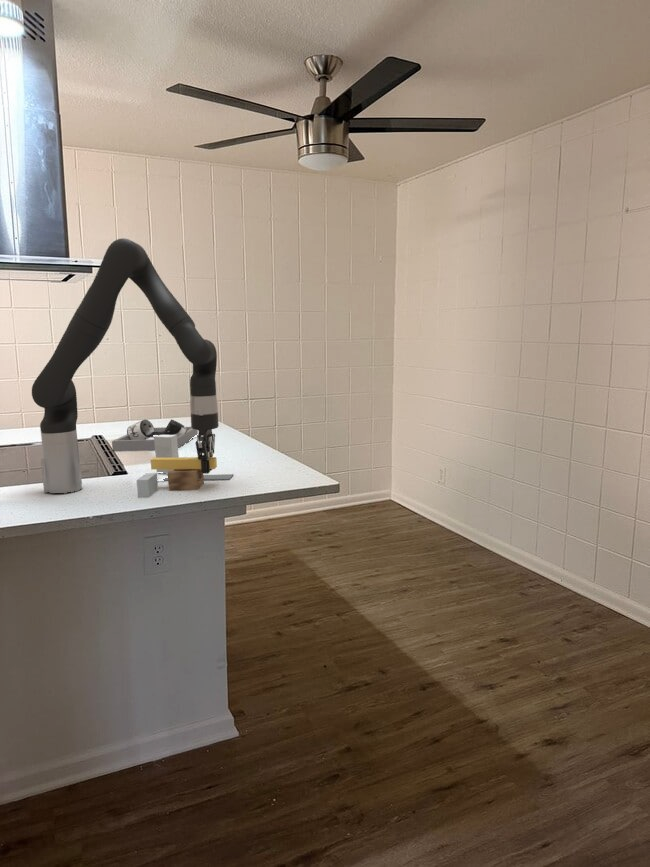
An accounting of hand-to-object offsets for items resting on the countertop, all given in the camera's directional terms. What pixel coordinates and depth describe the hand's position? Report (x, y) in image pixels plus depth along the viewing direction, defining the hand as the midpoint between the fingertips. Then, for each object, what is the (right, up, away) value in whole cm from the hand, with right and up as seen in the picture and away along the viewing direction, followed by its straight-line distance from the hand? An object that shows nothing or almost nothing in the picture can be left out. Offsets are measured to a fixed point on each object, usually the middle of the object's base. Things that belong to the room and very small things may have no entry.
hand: (207, 471), depth 169 cm
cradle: (-6, -4, +1) cm, 8 cm away
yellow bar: (-7, +1, 0) cm, 7 cm away
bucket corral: (-35, +7, +76) cm, 84 cm away
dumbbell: (-35, +7, +76) cm, 84 cm away
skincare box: (-16, -2, +20) cm, 26 cm away
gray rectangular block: (-15, -6, -5) cm, 17 cm away
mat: (-6, -3, +11) cm, 13 cm away
